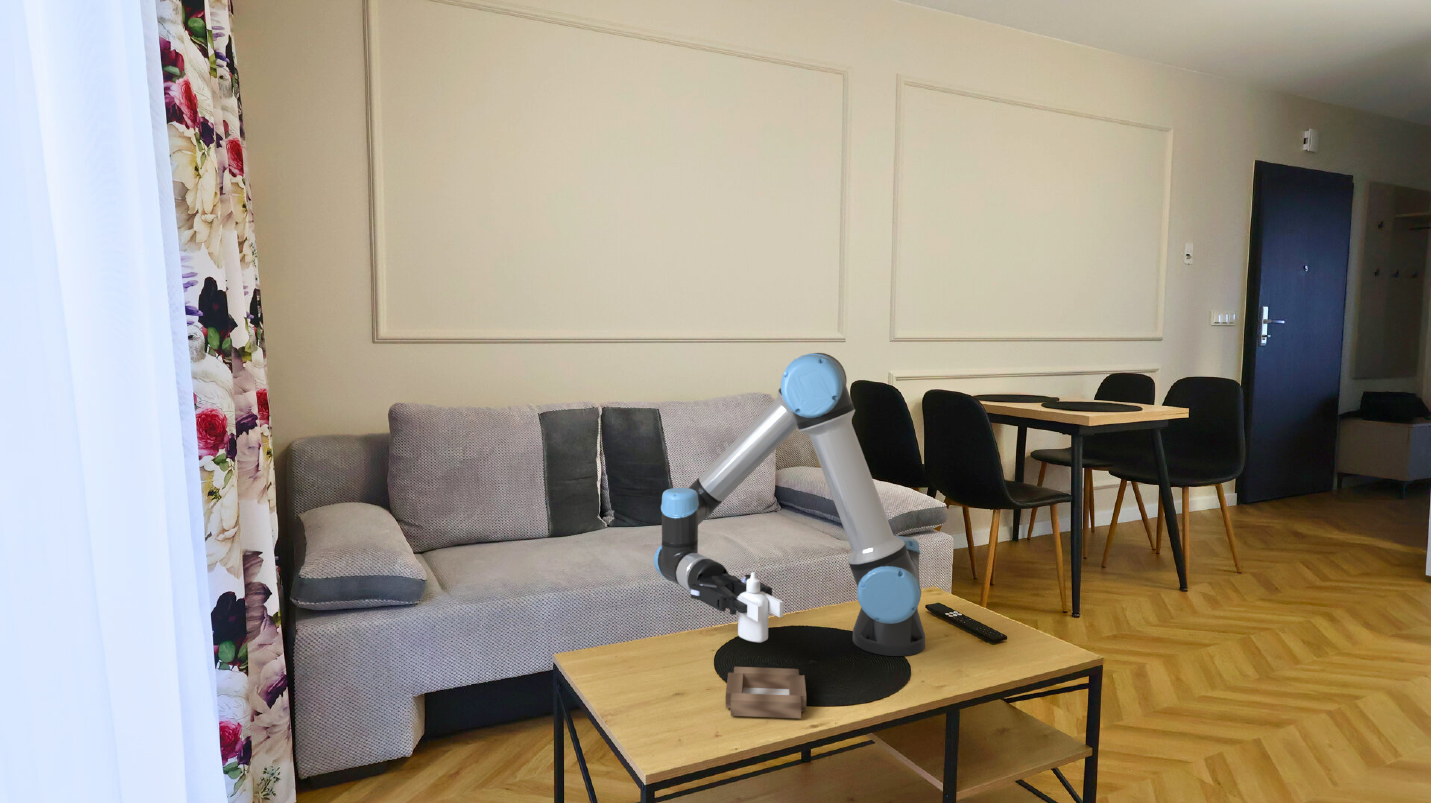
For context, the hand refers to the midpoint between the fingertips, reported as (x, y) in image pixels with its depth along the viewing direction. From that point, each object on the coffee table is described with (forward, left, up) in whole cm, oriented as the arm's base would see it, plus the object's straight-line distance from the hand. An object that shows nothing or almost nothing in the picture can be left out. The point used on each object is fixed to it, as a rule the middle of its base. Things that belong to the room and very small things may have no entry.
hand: (770, 611), depth 143 cm
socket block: (+1, -3, -18) cm, 18 cm away
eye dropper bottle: (+3, -4, -7) cm, 9 cm away
